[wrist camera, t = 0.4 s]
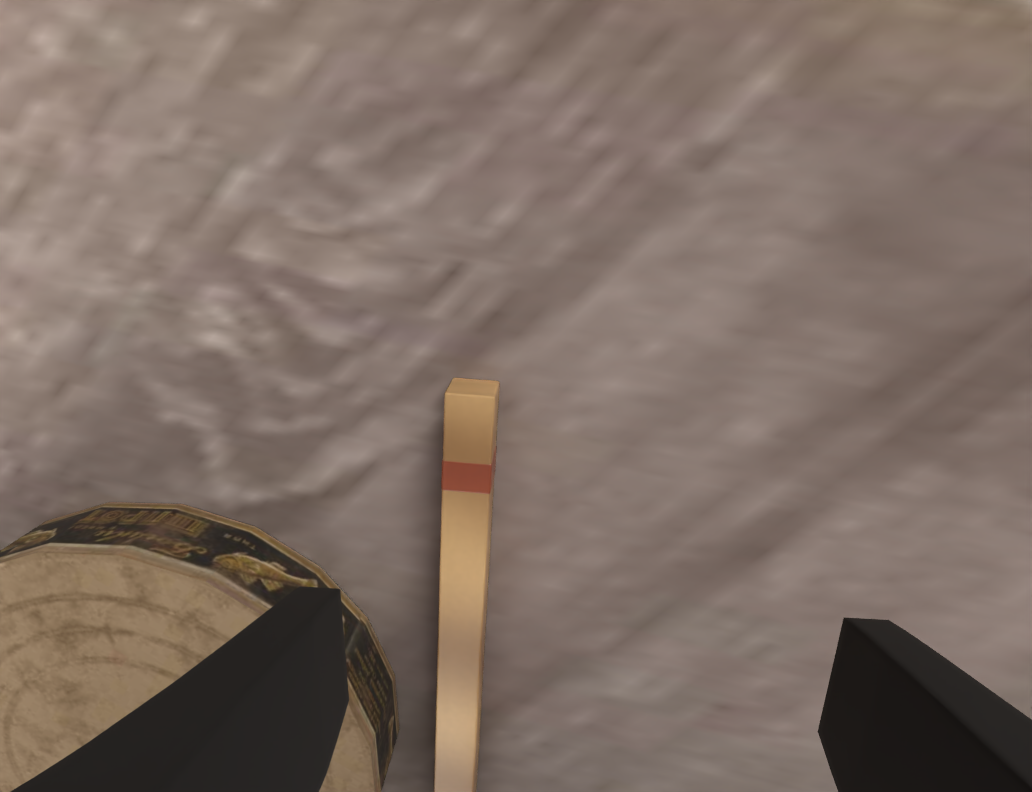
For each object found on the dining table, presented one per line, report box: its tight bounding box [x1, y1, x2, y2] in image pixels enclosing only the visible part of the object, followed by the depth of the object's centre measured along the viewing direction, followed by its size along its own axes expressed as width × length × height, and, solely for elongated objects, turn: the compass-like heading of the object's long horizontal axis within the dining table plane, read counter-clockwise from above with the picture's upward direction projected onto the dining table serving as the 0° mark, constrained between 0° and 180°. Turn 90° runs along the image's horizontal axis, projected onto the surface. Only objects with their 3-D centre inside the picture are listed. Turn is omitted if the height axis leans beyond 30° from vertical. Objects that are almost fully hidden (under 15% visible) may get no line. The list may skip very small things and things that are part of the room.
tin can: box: [0, 502, 399, 792], centre depth 21 cm, size 16×16×3 cm
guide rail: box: [434, 378, 500, 792], centre depth 20 cm, size 18×1×2 cm, turn 176°
